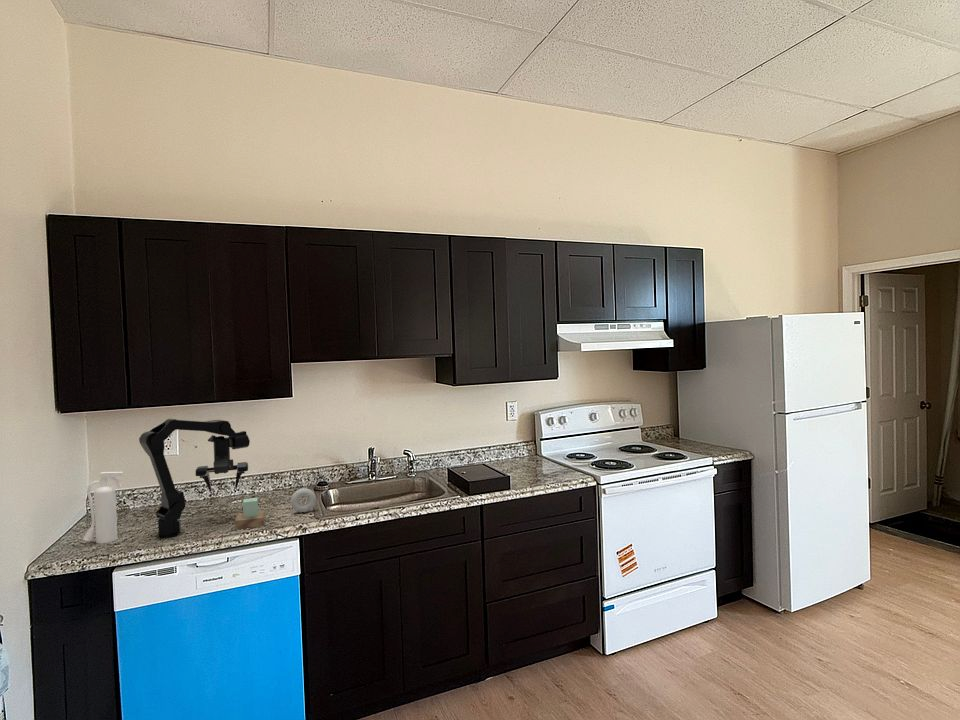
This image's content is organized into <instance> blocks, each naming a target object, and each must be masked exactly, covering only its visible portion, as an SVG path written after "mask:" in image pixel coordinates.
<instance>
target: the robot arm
mask: <svg viewBox="0 0 960 720" xmlns="http://www.w3.org/2000/svg"><path fill="white" fill-rule="evenodd" d="M176 430H177V431H195V432H196V431H198V432H206V433H210V434H212V435H211V436H210V437H209V438H208V439H207V442H209V443H213V459H214V460H213V467H209V466H208V465H202V466H201V465H200V466H197V467H196V469H195V477H199V479H203V480H204V482H205V484H206V487H207V488H208V491H209V492H210V493H211V492H212V484H211V477H210V474H211V473H214V474H215V475H219V474H227V473H229V471H236V476H235V484H234V486H235V490H237V489H238V485H239V481H240V479H241V476H242V475H243V474H245V472H247V471H249V462H247V461H243V462H241V461H240V462H236V464H234V459H233V458H232V459H231V450H230V449H232V450H238V449H244V448H248V447H249V446H250V442H251V441H250V438H249V436H248V435H249V434H247V431H246V430H242V431H238V432H236V431H235V430H234V429H233V428H232V425H231V423H230V421H228V420H223V419H222V420H221V419H214V420H213V419H212V420H206V421H205V420H204V421H200V420H187V419H186V420H184V419H175V418H168V419H166V420H165V421H163V422H162V423H160V424H158V425H157V426H155V427H153V428H151V429H150V430H149V431H145V432H143V433H142V434H141V435H140V437H139V438H138V441H139V444H140V446H141V448H142V449H143V451H144V452H145V453H146V454H147V456H149V459H150V462H151V465H152V467H153V470H154V474H155V476H156V479H157V482H158V485H159V487H160V490H161V496H160V503H161V505H160V506H159V508H158V509H157V510H156V511H155V513H154V514H155V516H156V518H157V519H158V520H157V529H158V536H157V539H165V538H171V537H177V536H178V537H179V535H180V533H181V531H182V529H181V528H182V525H181V516H182V513H183V511H185V508H186V503H187V500H186V498H185V495H184V494H185V493H184V492H183V491H181V490H180V489H179V490H178V489H177V488H176V487H175V484H174V480H173V478H172V474H171V472H170V468H169V466H168V463H167V461H166V457H165V441H166V440H167V439H168V438H169V437H170V436H171V435H172V433H173V432H174V431H176ZM214 434H215V435H214ZM216 435H218V436H216ZM219 435H220V436H219ZM226 436H227V437H226Z"/></svg>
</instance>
